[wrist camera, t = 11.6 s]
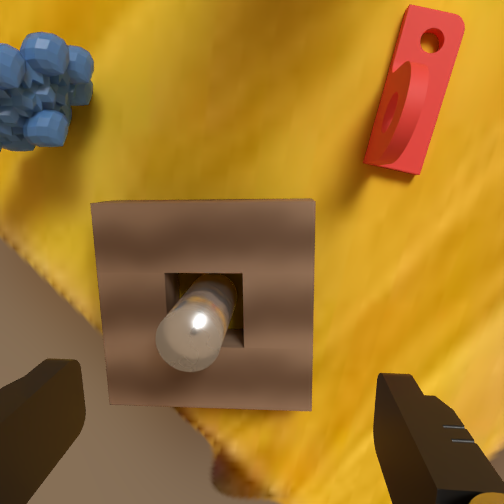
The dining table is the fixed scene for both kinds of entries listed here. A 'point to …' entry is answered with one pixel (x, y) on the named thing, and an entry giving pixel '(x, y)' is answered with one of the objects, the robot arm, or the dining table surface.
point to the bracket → (414, 90)
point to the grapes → (41, 90)
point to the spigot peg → (197, 324)
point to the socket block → (208, 261)
